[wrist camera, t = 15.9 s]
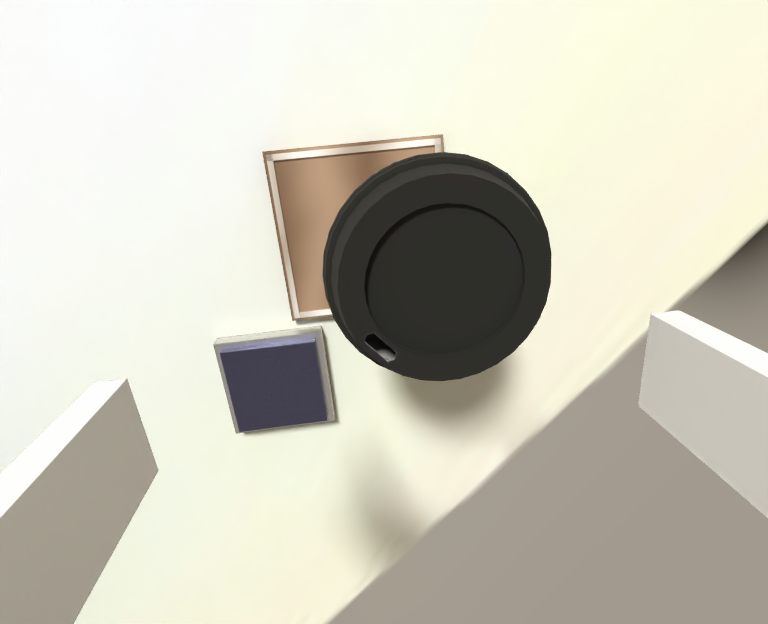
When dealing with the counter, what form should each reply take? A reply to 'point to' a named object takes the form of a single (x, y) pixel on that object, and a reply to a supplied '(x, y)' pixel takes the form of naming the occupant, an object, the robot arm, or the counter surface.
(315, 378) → the ink pad
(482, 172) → the coffee cup
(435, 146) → the board
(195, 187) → the counter surface
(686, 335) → the robot arm
